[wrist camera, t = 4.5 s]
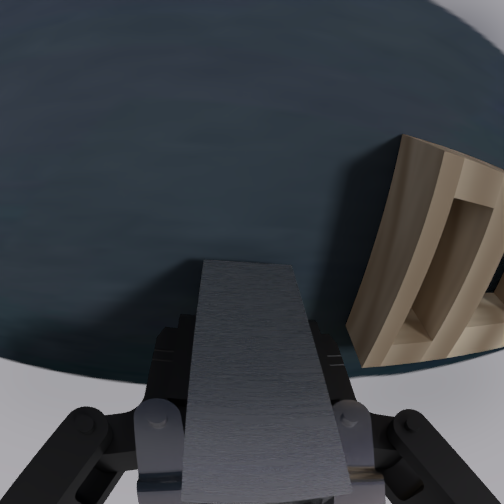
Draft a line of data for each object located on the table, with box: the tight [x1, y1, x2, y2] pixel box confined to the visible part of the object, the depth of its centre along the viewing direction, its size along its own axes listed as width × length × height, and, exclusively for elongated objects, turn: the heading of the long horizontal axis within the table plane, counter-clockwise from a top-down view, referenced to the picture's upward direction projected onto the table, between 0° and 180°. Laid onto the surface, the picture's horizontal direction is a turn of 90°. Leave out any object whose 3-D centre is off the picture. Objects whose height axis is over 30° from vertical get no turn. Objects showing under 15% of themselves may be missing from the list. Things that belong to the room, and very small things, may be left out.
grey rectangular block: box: [181, 259, 353, 504], centre depth 9 cm, size 4×4×9 cm
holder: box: [346, 134, 504, 368], centre depth 13 cm, size 14×10×3 cm
